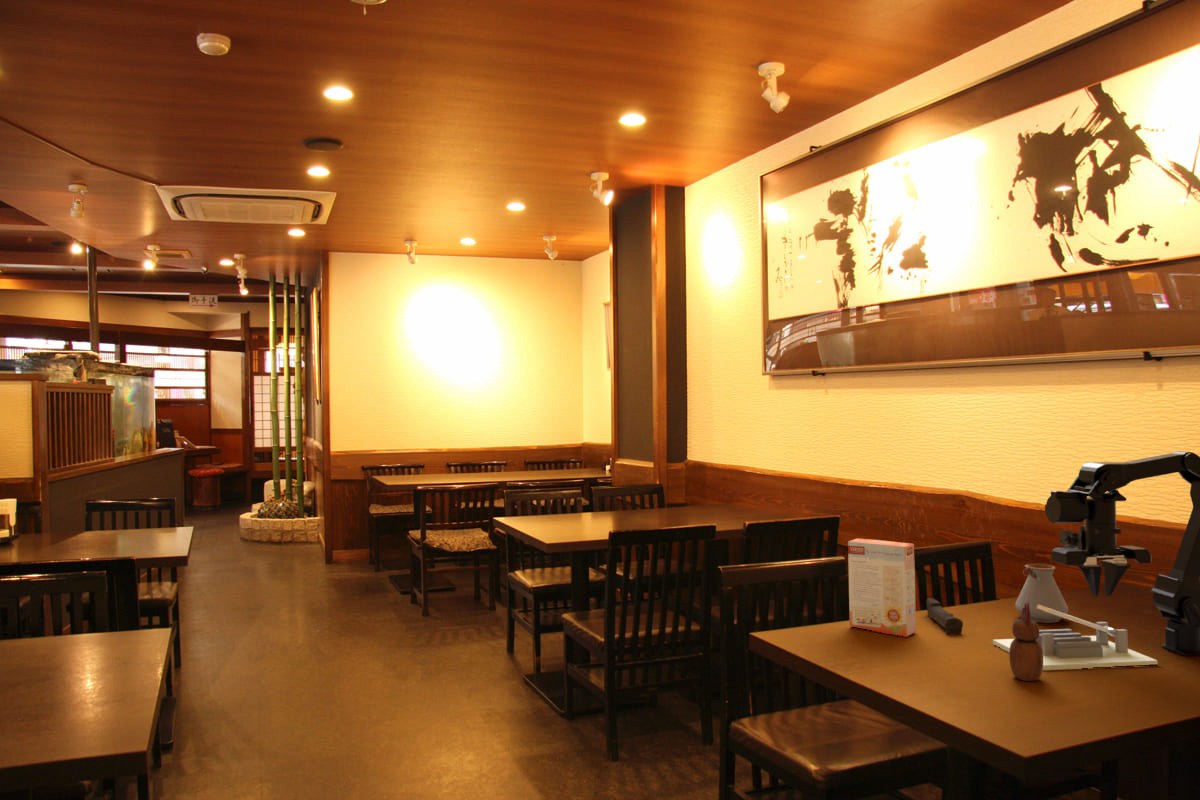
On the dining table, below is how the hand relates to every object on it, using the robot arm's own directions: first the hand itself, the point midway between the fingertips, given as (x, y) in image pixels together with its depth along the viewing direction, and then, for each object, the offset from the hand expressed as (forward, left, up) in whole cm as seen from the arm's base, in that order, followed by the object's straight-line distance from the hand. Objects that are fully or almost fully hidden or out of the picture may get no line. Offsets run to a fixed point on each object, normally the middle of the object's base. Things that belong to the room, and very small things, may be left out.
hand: (1101, 596), depth 173 cm
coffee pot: (-1, -24, -12) cm, 27 cm away
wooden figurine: (+25, +13, -12) cm, 31 cm away
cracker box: (+38, -23, -12) cm, 46 cm away
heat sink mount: (+7, 0, -12) cm, 14 cm away
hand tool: (+22, -27, -12) cm, 37 cm away
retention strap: (+5, 0, -6) cm, 8 cm away
